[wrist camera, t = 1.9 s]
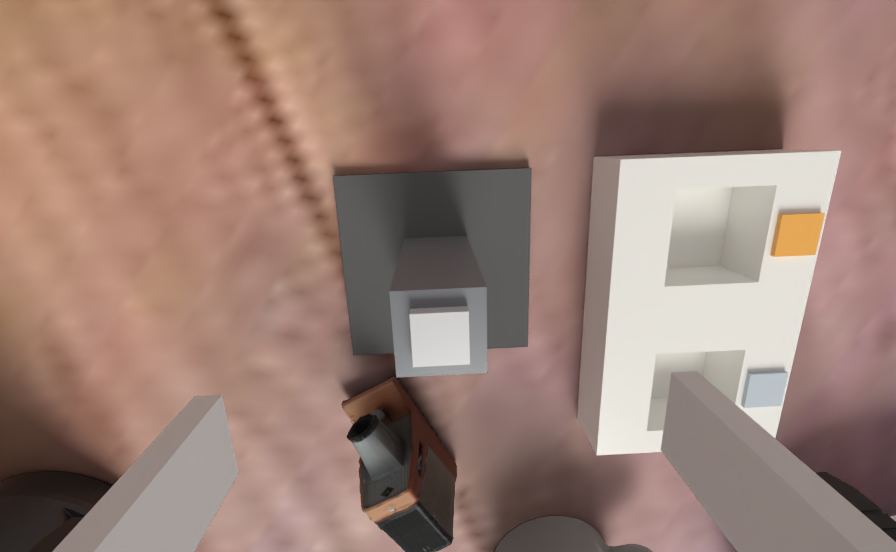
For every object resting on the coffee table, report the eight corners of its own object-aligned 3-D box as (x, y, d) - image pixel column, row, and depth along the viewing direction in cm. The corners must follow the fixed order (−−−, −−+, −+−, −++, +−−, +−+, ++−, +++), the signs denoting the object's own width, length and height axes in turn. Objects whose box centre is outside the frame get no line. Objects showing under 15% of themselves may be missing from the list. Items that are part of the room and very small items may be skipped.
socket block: (577, 418, 32) (598, 458, 28) (593, 156, 27) (623, 159, 23) (733, 409, 33) (777, 448, 29) (783, 149, 27) (846, 150, 23)
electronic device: (395, 367, 31) (383, 438, 24) (459, 462, 33) (467, 551, 26) (342, 395, 31) (316, 472, 24) (410, 485, 34) (405, 579, 27)
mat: (354, 351, 30) (353, 355, 29) (335, 175, 26) (332, 176, 26) (525, 342, 30) (527, 346, 30) (529, 167, 27) (531, 168, 26)
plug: (408, 297, 28) (395, 385, 18) (403, 238, 27) (387, 296, 17) (468, 295, 28) (489, 380, 18) (467, 235, 27) (488, 291, 17)
